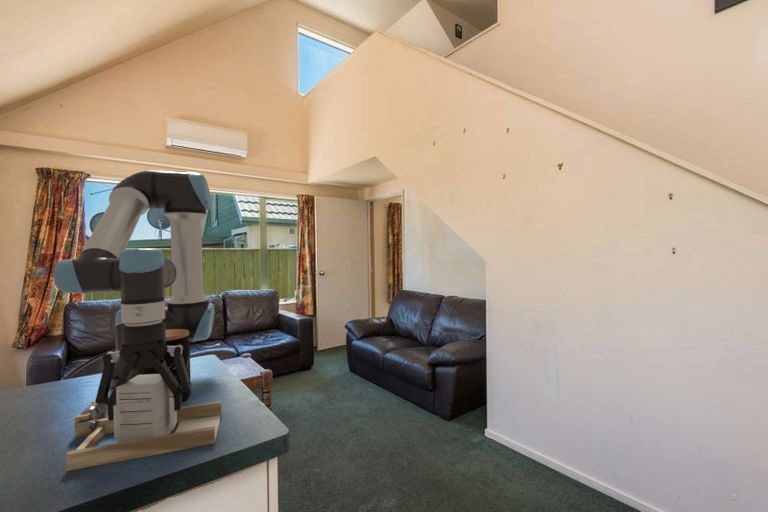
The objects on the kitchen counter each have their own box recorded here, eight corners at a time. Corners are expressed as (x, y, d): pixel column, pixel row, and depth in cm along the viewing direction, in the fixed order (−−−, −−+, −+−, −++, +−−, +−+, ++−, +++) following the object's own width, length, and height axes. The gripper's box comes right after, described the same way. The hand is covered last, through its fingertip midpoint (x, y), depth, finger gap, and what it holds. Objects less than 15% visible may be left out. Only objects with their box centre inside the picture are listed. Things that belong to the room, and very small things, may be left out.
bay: (100, 432, 76) (100, 418, 76) (221, 413, 84) (221, 400, 84) (66, 471, 62) (66, 454, 62) (214, 443, 70) (214, 429, 70)
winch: (92, 419, 82) (91, 399, 82) (117, 415, 84) (116, 396, 84) (65, 445, 71) (65, 423, 71) (95, 440, 73) (94, 418, 72)
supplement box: (140, 431, 76) (138, 373, 76) (175, 429, 77) (173, 372, 76) (116, 450, 69) (114, 387, 69) (154, 448, 69) (153, 385, 69)
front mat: (180, 422, 80) (180, 421, 80) (220, 415, 83) (220, 415, 83) (168, 448, 69) (168, 447, 69) (215, 439, 72) (215, 439, 72)
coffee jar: (168, 412, 85) (166, 339, 85) (132, 409, 87) (130, 337, 87) (200, 394, 95) (198, 329, 95) (167, 392, 98) (165, 328, 97)
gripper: (69, 331, 65) (73, 450, 65) (199, 321, 73) (202, 428, 73) (88, 323, 72) (91, 431, 72) (204, 315, 80) (207, 413, 80)
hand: (146, 429), depth 73 cm, fingers open, 9 cm apart
